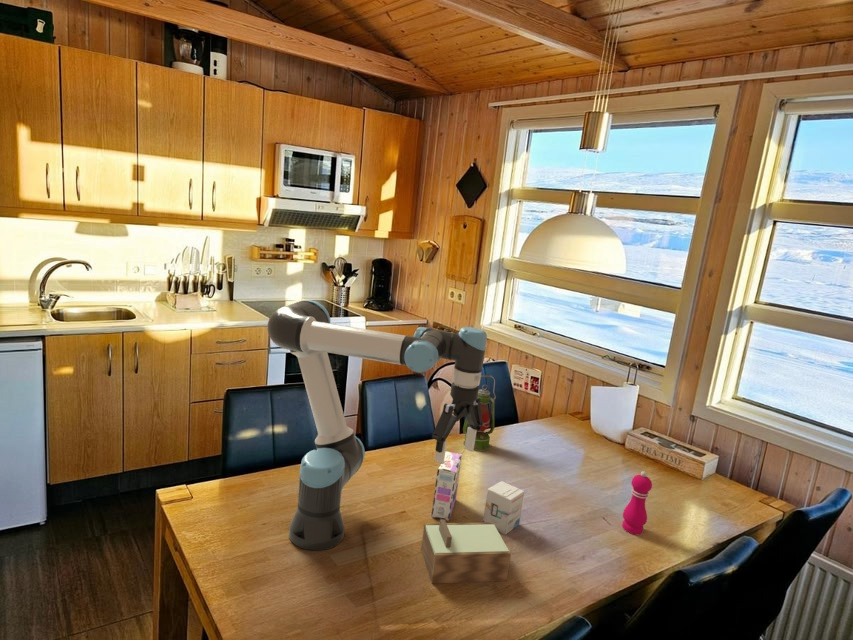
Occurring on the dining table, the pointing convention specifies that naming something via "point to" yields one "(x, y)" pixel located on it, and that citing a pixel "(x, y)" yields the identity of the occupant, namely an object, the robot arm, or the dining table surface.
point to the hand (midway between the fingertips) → (454, 455)
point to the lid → (465, 538)
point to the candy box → (446, 486)
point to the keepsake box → (464, 563)
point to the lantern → (481, 436)
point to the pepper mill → (637, 505)
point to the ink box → (503, 506)
